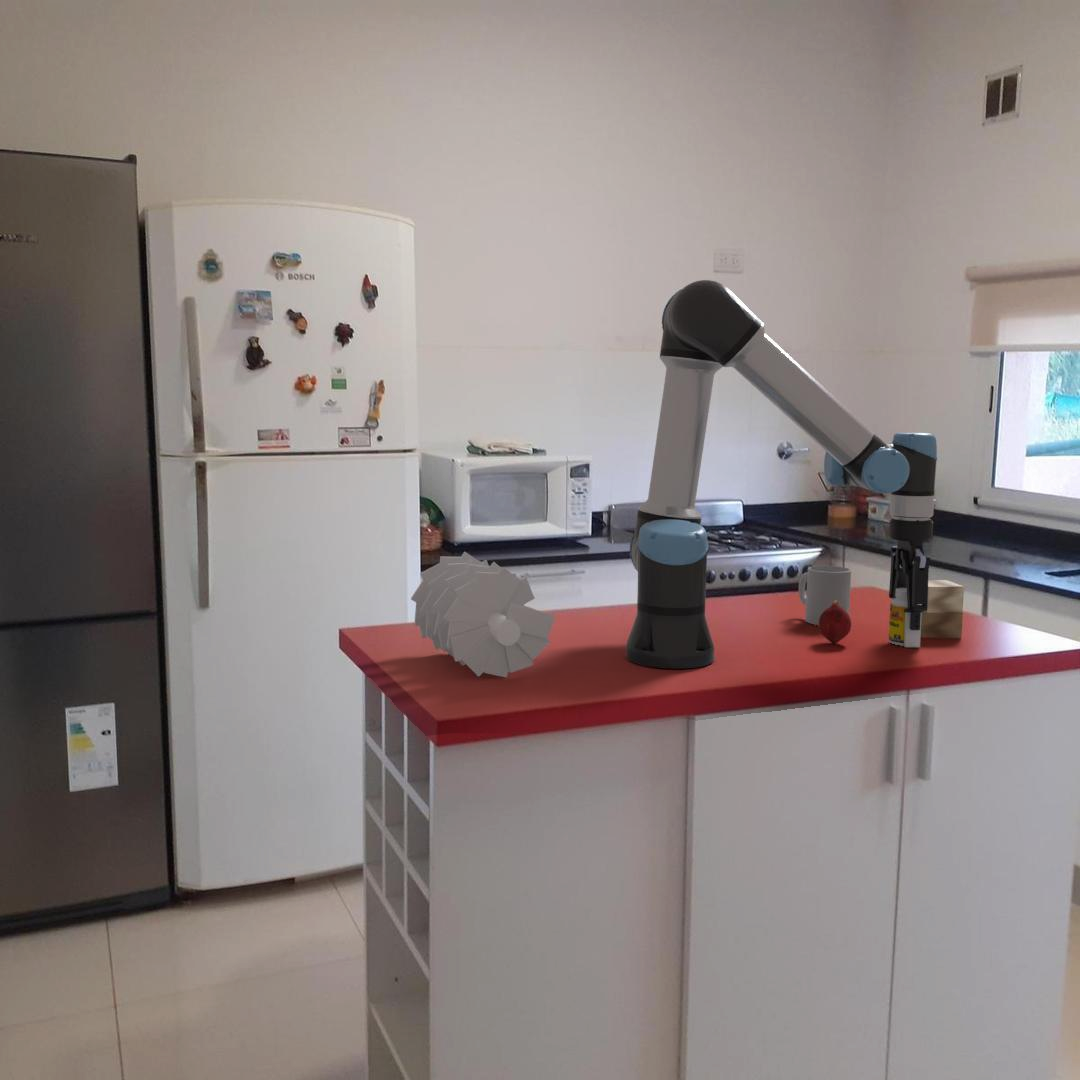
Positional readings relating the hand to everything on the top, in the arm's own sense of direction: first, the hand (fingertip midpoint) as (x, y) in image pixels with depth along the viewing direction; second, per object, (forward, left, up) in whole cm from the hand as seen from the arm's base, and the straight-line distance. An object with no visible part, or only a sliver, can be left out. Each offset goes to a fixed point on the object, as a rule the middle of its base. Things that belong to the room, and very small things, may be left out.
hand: (905, 642), depth 202 cm
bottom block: (+9, +9, 0) cm, 13 cm away
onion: (-13, 0, 0) cm, 13 cm away
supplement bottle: (0, 0, 0) cm, 1 cm away
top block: (+9, +9, +5) cm, 13 cm away
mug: (-10, +20, -1) cm, 23 cm away
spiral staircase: (-78, -16, -1) cm, 80 cm away
